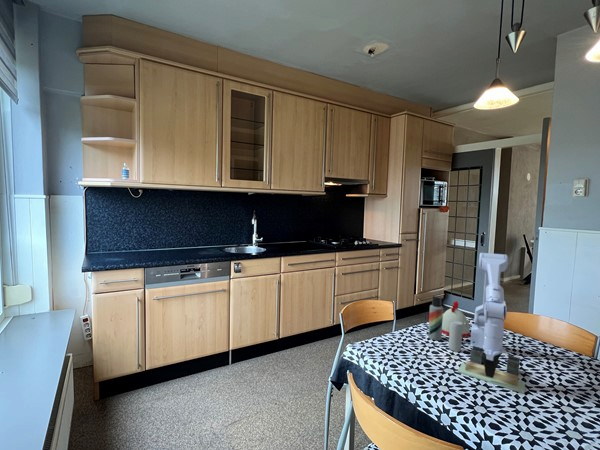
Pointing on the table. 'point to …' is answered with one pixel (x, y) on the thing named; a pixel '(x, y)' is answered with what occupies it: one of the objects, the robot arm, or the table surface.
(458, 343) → the beverage can
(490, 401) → the table surface
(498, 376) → the oak rail
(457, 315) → the kitchen timer
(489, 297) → the robot arm
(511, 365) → the cradle stands
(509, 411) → the table surface
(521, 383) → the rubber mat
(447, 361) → the table surface
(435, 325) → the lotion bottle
